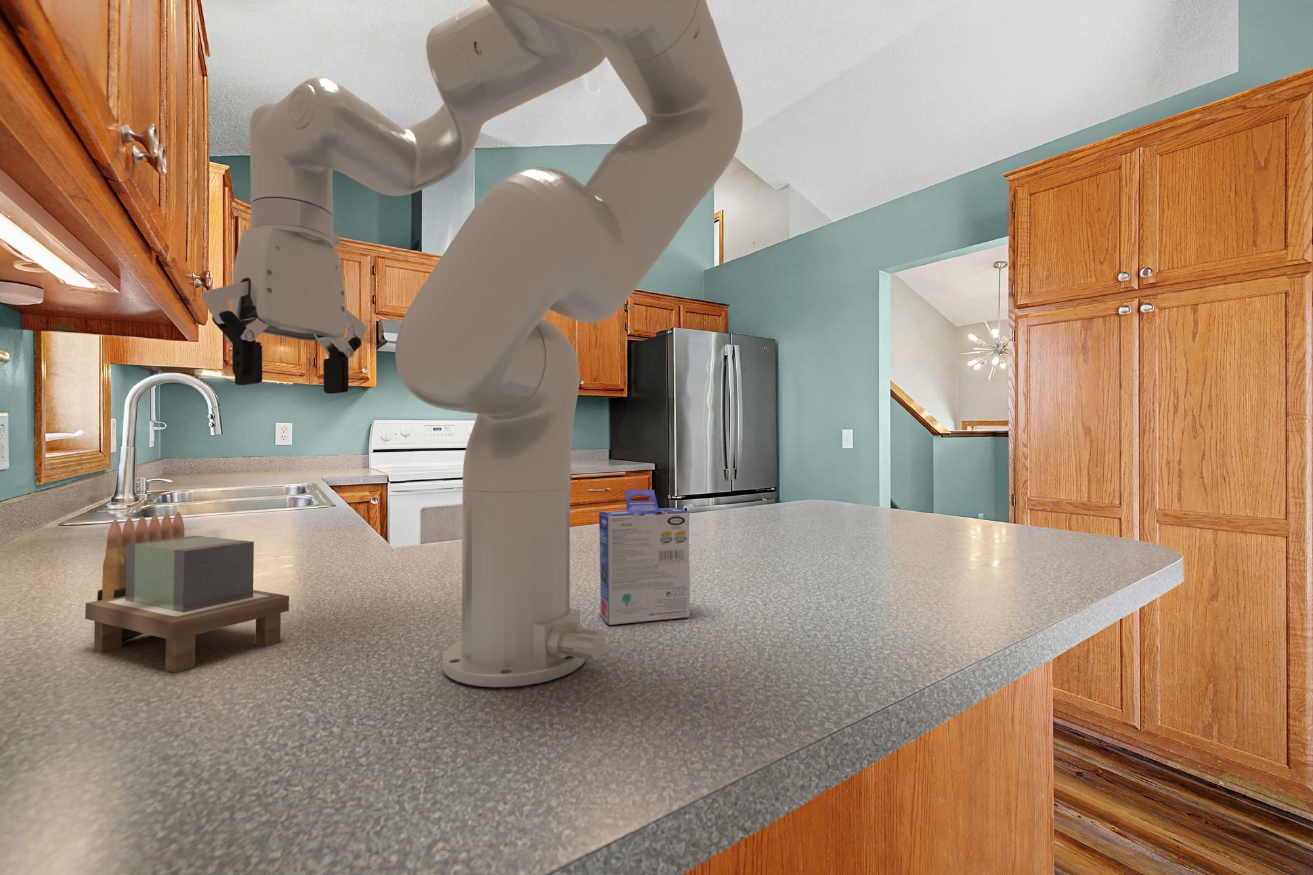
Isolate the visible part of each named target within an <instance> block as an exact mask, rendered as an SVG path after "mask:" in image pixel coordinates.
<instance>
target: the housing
mask: <svg viewBox="0 0 1313 875" xmlns="http://www.w3.org/2000/svg"><path fill="white" fill-rule="evenodd" d="M254 551H255V541H249V540H242V539H233V538H232V539H231V538H223V537H214V536H203V535H189V536H185V537H180V538H171V539H162V540H154V541H145V542H137V543H128V544H126V595H125V600H126V601H131V602H135V603H140V604H145V605H150V606H155V607H159V608H164V609H169V610H174V611H178V612H188V611H192V610H197V609H201V608H206V607H211V606H215V605H220V604H224V603H229V602H234V601H238V600H243V599H247V598H252V597H253V590H254V570H255V569H254V567H255V566H254V565H255V564H254V560H255V558H254V556H255V555H254V554H255V552H254Z"/></svg>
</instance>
